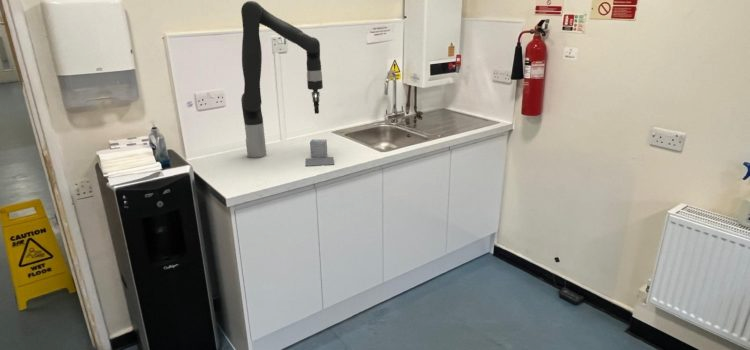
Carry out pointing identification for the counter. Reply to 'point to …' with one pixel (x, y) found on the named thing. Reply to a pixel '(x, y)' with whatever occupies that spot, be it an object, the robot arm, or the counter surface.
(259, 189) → the counter surface
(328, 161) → the mat
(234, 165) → the counter surface
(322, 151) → the medicine box
